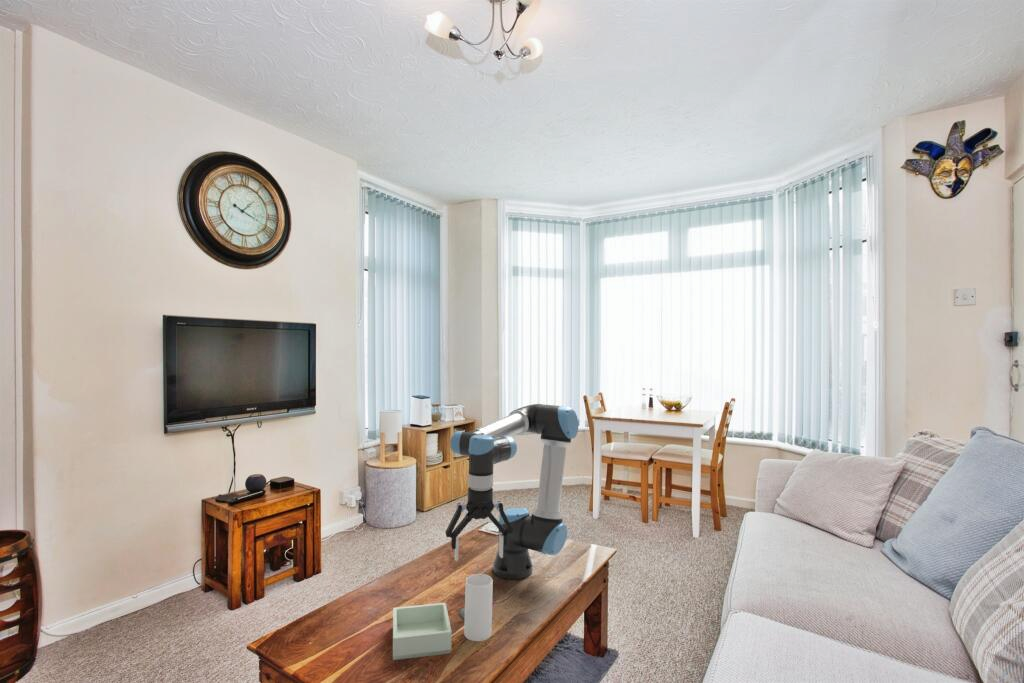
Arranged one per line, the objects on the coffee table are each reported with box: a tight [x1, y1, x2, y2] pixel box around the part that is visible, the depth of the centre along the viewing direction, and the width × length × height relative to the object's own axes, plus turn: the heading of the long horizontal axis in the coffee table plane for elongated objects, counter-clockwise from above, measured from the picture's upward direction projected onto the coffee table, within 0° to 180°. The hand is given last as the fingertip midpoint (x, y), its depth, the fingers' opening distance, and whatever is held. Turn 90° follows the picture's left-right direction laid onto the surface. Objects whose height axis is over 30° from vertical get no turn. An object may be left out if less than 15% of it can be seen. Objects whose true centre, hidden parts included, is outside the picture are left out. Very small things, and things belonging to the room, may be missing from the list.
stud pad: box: [459, 606, 465, 620], centre depth 160 cm, size 8×8×1 cm
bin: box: [392, 602, 453, 661], centre depth 145 cm, size 16×16×6 cm
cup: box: [463, 573, 494, 642], centre depth 149 cm, size 8×8×16 cm
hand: (478, 557), depth 149 cm, fingers open, 13 cm apart
